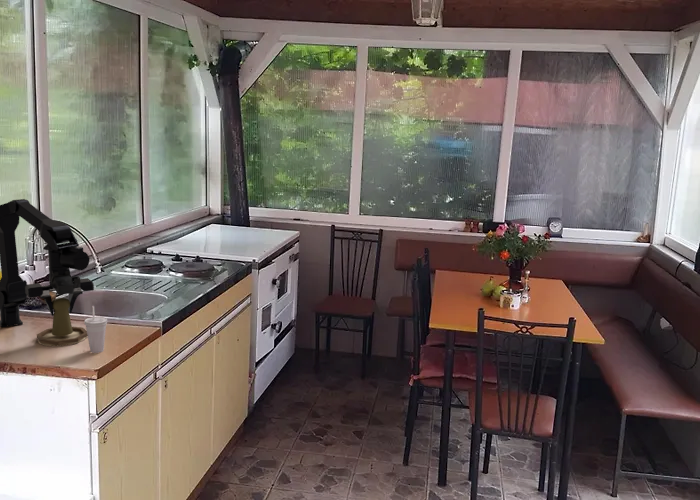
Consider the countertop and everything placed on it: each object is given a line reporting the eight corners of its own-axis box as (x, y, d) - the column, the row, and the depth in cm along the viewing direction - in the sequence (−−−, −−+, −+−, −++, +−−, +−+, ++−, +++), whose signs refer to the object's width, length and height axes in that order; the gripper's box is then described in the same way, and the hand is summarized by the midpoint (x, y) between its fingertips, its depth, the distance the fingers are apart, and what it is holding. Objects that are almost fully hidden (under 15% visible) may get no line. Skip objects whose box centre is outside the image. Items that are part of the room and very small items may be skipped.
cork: (76, 330, 204) (75, 296, 201) (66, 336, 198) (64, 302, 195) (58, 328, 204) (56, 295, 202) (47, 335, 198) (45, 300, 196)
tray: (33, 335, 203) (33, 330, 202) (80, 328, 211) (80, 323, 210) (43, 349, 192) (43, 344, 191) (92, 341, 200) (91, 336, 200)
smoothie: (85, 348, 194) (83, 303, 191) (108, 346, 196) (106, 302, 193) (85, 355, 188) (83, 309, 185) (108, 353, 190) (106, 308, 188)
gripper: (30, 274, 185) (33, 326, 188) (98, 267, 196) (99, 316, 199) (23, 266, 193) (26, 315, 197) (88, 260, 204) (89, 307, 208)
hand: (61, 314), depth 200 cm, fingers closed on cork, 5 cm apart
